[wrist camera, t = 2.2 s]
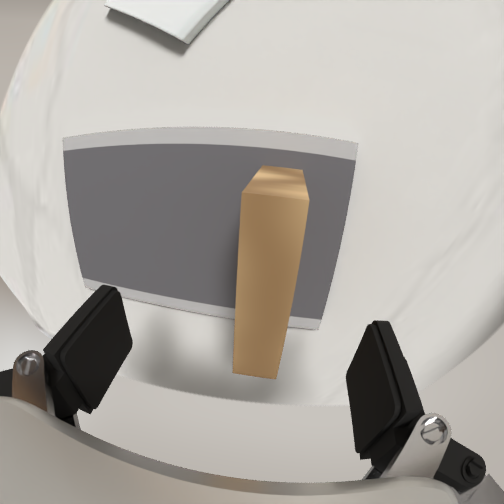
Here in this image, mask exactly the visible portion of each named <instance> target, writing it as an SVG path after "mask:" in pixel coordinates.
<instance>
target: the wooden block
mask: <svg viewBox="0 0 504 504" xmlns="http://www.w3.org/2000/svg"><path fill="white" fill-rule="evenodd" d="M308 207H309V196H308V192H307V187H306V183H305V179H304V174H303V170H299V169H292V168H283V167H274V166H265V165H262V167H261V168H260V169H259V171H258V172H257V173H256V174H255V176H254V177H253V178H252V180H251V181H250V182H249V184H248V185H247V186H246V187H245V189H244V190H243V191H242V196H241V213H240V230H239V247H238V266H237V285H236V306H235V328H234V352H233V373H236V374H242V375H248V376H255V377H262V378H270V379H276V377H277V373H278V368H279V364H280V360H281V355H282V351H283V346H284V341H285V337H286V332H287V327H288V322H289V317H290V312H291V307H292V302H293V297H294V291H295V286H296V281H297V275H298V269H299V264H300V258H301V252H302V246H303V240H304V234H305V227H306V221H307V214H308Z"/></svg>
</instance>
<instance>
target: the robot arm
mask: <svg viewBox="0 0 504 504" xmlns="http://www.w3.org/2000/svg"><path fill="white" fill-rule="evenodd" d="M132 344H133V342H132V337H131V334H130V330H129V326H128V322H127V318H126V314H125V310H124V306H123V302H122V297H121V293H120V292H119V291H118V290H117V288H116V287H114V286H109V285H101V286H100V287H99V288H98V289H97V290H96V291H95V292H94V293H93V294H92V295H91V296H90V297H89V298H88V300H87V301H86V302H85V303H84V304H83V305H82V306H81V307H80V308H79V309H78V310H77V311H76V312H75V314H74V315H73V316H72V317H71V318H70V319H69V320H68V321H67V322H66V324H65V325H64V326H63V327H62V328H61V329H60V330H59V332H58V333H57V334H56V335H55V336H54V337H53V339H52V340H51V341H50V342H49V343H48V344H47V346H46V347H45V348H44V349H43V351H44V352H45V354H44V355H43V356H42V355H41V353H39V352H38V351H34V350H29V351H26V352H23V353H22V354H20V355H19V356H18V357H17V358H16V360H15V362H14V365H13V369H9V370H5V371H2V372H0V504H504V491H503V490H502V489H501V488H500V487H499V485H498V484H497V483H496V482H495V480H494V479H493V478H492V477H491V476H490V475H489V474H488V475H487V476H486V475H485V472H486V465H485V462H484V460H483V458H482V457H481V456H480V455H478V454H477V453H475V452H473V451H471V450H470V449H468V448H466V447H465V446H463V445H461V444H460V443H458V442H456V441H455V440H453V439H451V427H450V425H449V423H448V421H447V420H446V419H445V418H444V417H443V416H441V415H439V414H436V413H429V414H425V413H424V410H423V406H422V403H421V400H420V397H419V394H418V391H417V388H416V385H415V383H414V380H413V377H412V374H411V372H410V369H409V366H408V364H407V361H406V359H405V357H404V356H403V354H402V351H401V349H400V346H399V344H398V341H397V339H396V336H395V334H394V331H393V329H392V327H391V324H390V323H389V322H388V321H373V322H372V324H368V326H367V328H366V330H365V332H364V335H363V337H362V340H361V342H360V344H359V347H358V349H357V351H356V353H355V355H354V358H353V360H352V362H351V364H350V366H349V368H348V371H347V374H346V383H347V389H348V396H349V403H350V409H351V417H352V425H353V433H354V442H355V450H356V452H357V453H360V459H370V458H371V464H372V467H371V468H370V470H369V471H368V472H367V474H366V475H365V476H364V477H363V479H362V480H358V481H346V482H326V483H286V482H269V481H257V480H248V479H240V478H233V477H226V476H220V475H214V474H209V473H204V472H199V471H195V470H190V469H186V468H182V467H178V466H174V465H171V464H167V463H164V462H160V461H157V460H154V459H151V458H147V457H145V456H142V455H139V454H136V453H133V452H130V451H128V450H125V449H122V448H120V447H117V446H115V445H112V444H110V443H107V442H105V441H103V440H101V439H98V438H96V437H94V436H92V435H90V434H88V433H86V432H84V431H82V430H81V429H80V426H79V421H78V417H77V411H78V409H80V410H82V411H84V412H87V413H89V414H91V412H92V411H93V409H96V408H97V407H98V406H99V404H100V402H101V400H102V398H103V397H104V395H105V393H106V391H107V389H108V388H109V386H110V384H111V382H112V381H113V379H114V377H115V376H116V374H117V372H118V370H119V369H120V367H121V365H122V364H123V362H124V360H125V359H126V357H127V355H128V354H129V352H130V350H131V348H132Z"/></svg>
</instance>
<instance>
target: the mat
mask: <svg viewBox="0 0 504 504" xmlns="http://www.w3.org/2000/svg"><path fill="white" fill-rule="evenodd" d="M357 149H358V143H355V142H350V141H345V140H339V139H333V138H327V137H321V136H314V135H307V134H299V133H291V132H282V131H272V130H261V129H247V128H227V127H161V128H142V129H128V130H117V131H108V132H99V133H92V134H84V135H78V136H72V137H66V138H63V154H64V170H65V182H66V191H67V199H68V207H69V214H70V220H71V226H72V232H73V237H74V242H75V247H76V252H77V256H78V261H79V265H80V269H81V273H82V277H83V281H84V285H85V287H86V288H90V289H93V290H97V289H98V288H99V287H100V286H101V285H109V286H114V287H116V288H117V290H118V291H119V292H120V293H121V297H125V298H129V299H134V300H138V301H142V302H147V303H151V304H156V305H160V306H165V307H170V308H175V309H180V310H185V311H190V312H196V313H201V314H207V315H212V316H218V317H224V318H230V319H235V306H236V285H237V266H238V247H239V230H240V213H241V196H242V191H243V190H244V189H245V187H246V186H247V185H248V184H249V182H250V181H251V180H252V178H253V177H254V176H255V174H256V173H257V172H258V171H259V169H260V168H261V167H262V165H265V166H274V167H283V168H292V169H299V170H303V174H304V179H305V183H306V187H307V192H308V196H309V207H308V214H307V221H306V227H305V234H304V240H303V246H302V252H301V258H300V264H299V269H298V275H297V281H296V286H295V291H294V297H293V302H292V307H291V312H290V317H289V322H288V327H296V328H304V329H314V330H319V326H320V323H321V319H322V316H323V312H324V309H325V305H326V301H327V298H328V294H329V290H330V286H331V282H332V279H333V274H334V270H335V266H336V262H337V258H338V253H339V249H340V245H341V240H342V235H343V231H344V226H345V221H346V216H347V210H348V205H349V200H350V194H351V188H352V182H353V176H354V170H355V163H356V156H357Z"/></svg>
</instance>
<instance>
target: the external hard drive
mask: <svg viewBox="0 0 504 504" xmlns="http://www.w3.org/2000/svg"><path fill="white" fill-rule="evenodd" d="M228 1H229V0H107V2H106V3H105V5H104V6H106V7H108V8H111V9H113V10H116V11H119V12H121V13H124V14H126V15H129V16H131V17H133V18H136V19H138V20H140V21H142V22H145V23H147V24H149V25H151V26H153V27H155V28H157V29H159V30H161V31H163V32H165V33H167V34H169V35H171V36H173V37H175V38H177V39H179V40H181V41H182V42H184V43H186V44H189V43H190V42H191V41H192V40H193V39H194V38H195V36H196V35H197V34H198V33H199V32H200V31H201V30H202V28H203V27H204V26H205V25H206V24H207V23H208V22H209V21H210V20H211V19H212V18H213V16H214V15H215V14H216V13H217V12H218V11H219V10H220V9H221V8H222V7H223V6H224V5H225V4H226V3H227V2H228Z"/></svg>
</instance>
